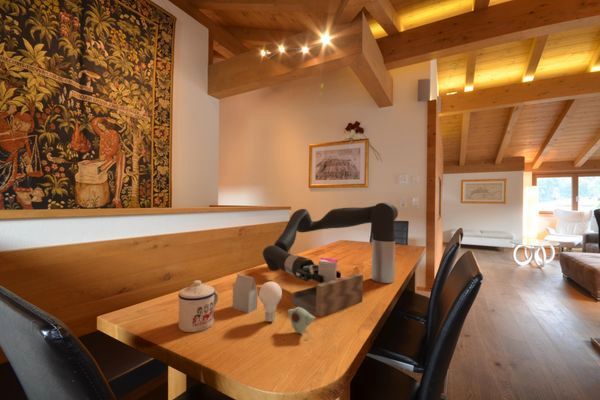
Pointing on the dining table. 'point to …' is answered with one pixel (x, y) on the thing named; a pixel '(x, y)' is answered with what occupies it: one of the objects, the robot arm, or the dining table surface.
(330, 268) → the supplement box
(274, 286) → the lightbulb
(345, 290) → the cleat board
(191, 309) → the teacup with lid
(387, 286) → the dining table surface
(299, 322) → the pale green triangular piece
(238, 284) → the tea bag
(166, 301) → the dining table surface
